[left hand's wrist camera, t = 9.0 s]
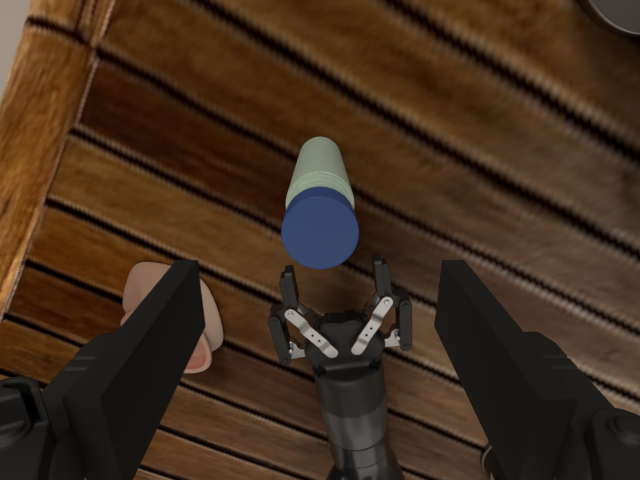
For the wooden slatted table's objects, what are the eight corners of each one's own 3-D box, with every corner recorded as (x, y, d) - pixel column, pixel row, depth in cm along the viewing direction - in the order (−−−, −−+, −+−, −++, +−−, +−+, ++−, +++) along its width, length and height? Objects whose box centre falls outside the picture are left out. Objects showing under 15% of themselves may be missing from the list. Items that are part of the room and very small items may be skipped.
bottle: (306, 131, 40) (291, 179, 19) (346, 144, 40) (373, 204, 20) (294, 171, 41) (268, 256, 21) (333, 183, 42) (346, 278, 21)
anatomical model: (95, 277, 41) (204, 275, 41) (114, 261, 45) (214, 260, 45) (121, 379, 46) (219, 377, 46) (136, 357, 50) (226, 355, 50)
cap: (295, 176, 21) (293, 186, 19) (365, 198, 21) (370, 209, 19) (276, 242, 22) (272, 257, 20) (342, 260, 23) (344, 277, 21)
